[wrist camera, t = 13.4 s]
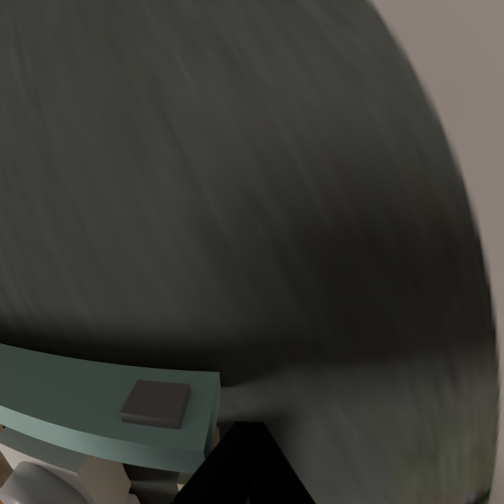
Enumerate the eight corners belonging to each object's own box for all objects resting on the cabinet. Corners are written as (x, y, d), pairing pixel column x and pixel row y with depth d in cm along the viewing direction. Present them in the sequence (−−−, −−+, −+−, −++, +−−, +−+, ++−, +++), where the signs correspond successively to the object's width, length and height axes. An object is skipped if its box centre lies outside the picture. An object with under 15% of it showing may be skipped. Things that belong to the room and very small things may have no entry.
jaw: (105, 423, 11) (56, 511, 6) (131, 484, 12) (103, 561, 7) (26, 403, 11) (-29, 468, 6) (58, 464, 12) (21, 526, 7)
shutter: (221, 395, 10) (207, 474, 7) (-43, 347, 10) (-83, 377, 7) (218, 363, 10) (201, 441, 6) (-50, 323, 10) (-94, 351, 7)
